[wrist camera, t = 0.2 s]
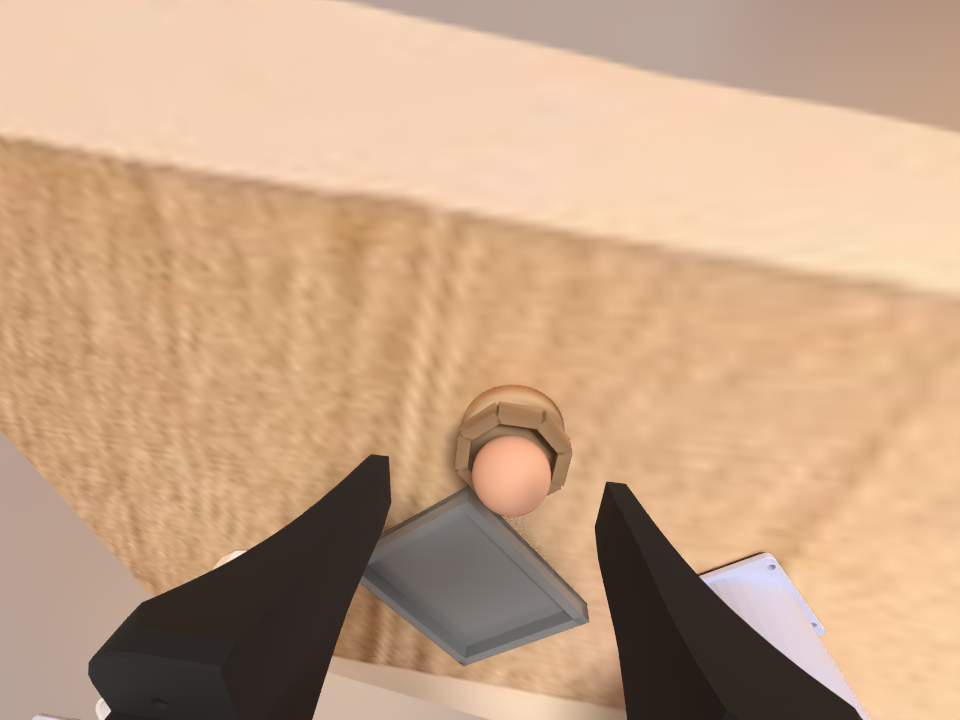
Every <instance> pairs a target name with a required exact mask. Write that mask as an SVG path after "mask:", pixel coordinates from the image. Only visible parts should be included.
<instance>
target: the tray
mask: <svg viewBox="0 0 960 720" xmlns="http://www.w3.org/2000/svg"><path fill="white" fill-rule="evenodd" d="M359 583H361V584H362V585H363V586H364V587H366V588H367V589H368V590H369V591H371V592H372V593H373V594H374V595H376V596H377V597H378V598H379V599H381V600H382V601H383V602H384V603H385V604H387V605H388V606H389V607H390V608H392V609H393V610H394V611H395V612H397V613H398V614H399V615H400V616H402V617H403V618H404V619H405V620H407V621H408V622H409V623H410V624H412V625H413V626H414V627H415V628H417V629H418V630H419V631H420V632H422V633H423V634H424V635H425V636H427V637H428V638H429V639H430V640H432V641H433V642H434V643H435V644H437V645H438V646H439V647H440V648H441V649H443V650H444V651H445V652H446V653H448V654H449V655H450V656H451V657H453V658H454V659H455V660H456V661H458V662H459V663H460V664H461V665H463V666H466V665H469V664H472V663H474V662H477V661H480V660H483V659H486V658H489V657H491V656H494V655H497V654H500V653H503V652H506V651H509V650H511V649H514V648H517V647H520V646H523V645H526V644H528V643H531V642H534V641H537V640H540V639H543V638H546V637H548V636H551V635H554V634H557V633H560V632H563V631H566V630H568V629H571V628H574V627H577V626H580V625H583V624H585V623H588V622H589V616H588V609H587V603H586V602H585V601H584V600H583V599H582V598H581V597H580V596H579V595H578V594H577V593H576V592H575V591H574V590H573V589H572V588H571V587H570V586H569V585H568V584H567V583H566V582H565V581H564V580H563V579H562V578H561V577H560V576H559V575H558V574H557V573H556V572H555V571H554V570H553V569H552V568H551V567H550V566H549V565H548V563H547V562H546V561H545V560H544V559H543V558H542V557H541V556H540V555H539V554H538V553H537V552H536V551H535V550H534V549H533V548H532V547H531V546H530V545H529V544H528V543H527V542H526V541H525V540H524V539H523V538H522V537H521V536H520V535H519V534H518V533H517V532H516V531H515V530H514V529H513V528H512V527H511V526H510V525H509V524H508V523H507V522H506V521H505V520H504V519H503V518H502V517H501V516H500V515H499V514H497V513H495V512H493V511H492V510H490V509H489V508H487V507H486V506H485V505H484V504H483V503H482V501H481V500H480V499H479V497H478V495H477V494H476V492H475V491H474V490H473V489H472V488H471V487H470V486H468V487H466V488H464V489H462V490H460V491H459V492H457V493H455V494H453V495H451V496H450V497H448V498H446V499H444V500H442V501H441V502H439V503H437V504H435V505H433V506H431V507H430V508H428V509H426V510H424V511H422V512H421V513H419V514H417V515H415V516H413V517H412V518H410V519H408V520H406V521H404V522H402V523H401V524H399V525H397V526H395V527H393V528H392V529H390V530H388V531H386V532H384V533H383V534H381V535H380V537H379V539H378V542H377V544H376V546H375V549H374V551H373V553H372V555H371V558H370V560H369V562H368V564H367V566H366V569H365V571H364V573H363V575H362V578H361V580H360V582H359Z"/></svg>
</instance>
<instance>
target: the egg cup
mask: <svg viewBox="0 0 960 720" xmlns="http://www.w3.org/2000/svg"><path fill="white" fill-rule="evenodd" d="M503 435H518V436H522V437H525V438H527V439H529V440H531V441H533V442H534V443H535V444H536V445H537V446H539V447H540V448H541V450H542V451H543V452H544V454H545V456H546V457H547V460H548V462H549V465H550V471H551V483H550V488H549V491H548V493H547V495H546V496H548V495H550V494H552V493H554V492H556V491H558V490H560V489H561V485H562V486H564V483H565V479H566V476H567V472H568V468H569V464H570V461H571V457H572V449H571V443H570V439H569V437H568V436H567V435H566V433H565V429H564V423H563V418H562V415H561V413H560V411H559V409H558V407H557V406H556V405H555V403H554V402H553V401H552V400H551V399H550V398H548V397H547V396H546V395H544V394H543V393H541V392H539V391H537V390H535V389H532V388H529V387H525V386H520V385H504V386H499V387H495V388H492V389H490V390H487V391H485V392H484V393H482V394H481V395H479V396H478V397H477V398H476V399H475V400H474V401H473V402H472V403H471V404H470V406H469V407H468V409H467V411H466V414H465V417H464V422H463V424H462V426H460V430H459V434H458V441H457V451H456V460H455V469H457V471H456V473H457V474H458V475H459V476H460V477H461V478H462V479H463V480H464V481H465V482H466V483H467V484H468V485H469V486H470V487H471V488H472V489H473V490H474V491H475V489H474V485H473V480H472V469H473V464H474V461H475V458H476V456H477V454H478V453H479V451H480V450H481V449H482V447H483V446H484V445H485V444H487V443H488V442H489V441H491V440H492V439H494V438H497V437H499V436H503ZM475 492H476V491H475Z"/></svg>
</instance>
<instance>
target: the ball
mask: <svg viewBox="0 0 960 720" xmlns="http://www.w3.org/2000/svg"><path fill="white" fill-rule="evenodd" d="M472 480H473V485H474V489H475V491H476V494H477V495H478V497H479V499H480V500H481V501H482V503H483V504H484V505H485V506H486V507H487V508H489V509H490V510H492V511H493V512H495V513H497V514H500V515H503V516H509V517H516V516H522V515H525V514H527V513H530V512H531V511H533V510H535V509H536V508H537V507H538V506H539V505H540V504H541V503H542V502H543V500H544V499H545V497H546V495H547V493H548V491H549V488H550V483H551V471H550V465H549V462H548V460H547V457H546V456H545V454H544V452H543V451H542V450H541V448H540V447H539V446H537V445H536V444H535V443H534V442H533V441H531V440H529V439H527V438H525V437H522V436H518V435H503V436H499V437H497V438H494V439H492V440H491V441H489V442H488V443H487V444H485V445H484V446H483V447H482V449H481V450H480V451H479V453H478V454H477V456H476V458H475V461H474V464H473V469H472Z"/></svg>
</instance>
